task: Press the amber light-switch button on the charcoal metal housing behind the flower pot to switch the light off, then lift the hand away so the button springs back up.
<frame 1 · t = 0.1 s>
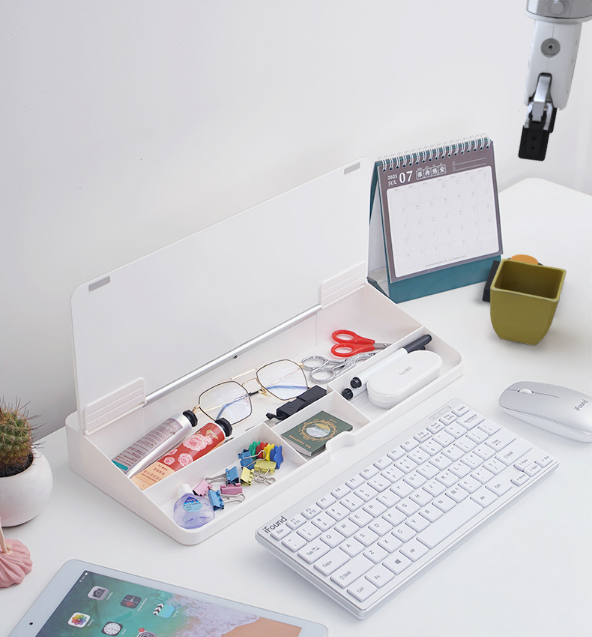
hand: (535, 144, 101), 26 cm above the table, tool pointing down, fingers open, 9 cm apart
flower pot: (518, 334, 111), on the table
switch: (518, 291, 120), on the table
switch button: (523, 266, 118), point 4 cm above the table, slide at 0.1 cm
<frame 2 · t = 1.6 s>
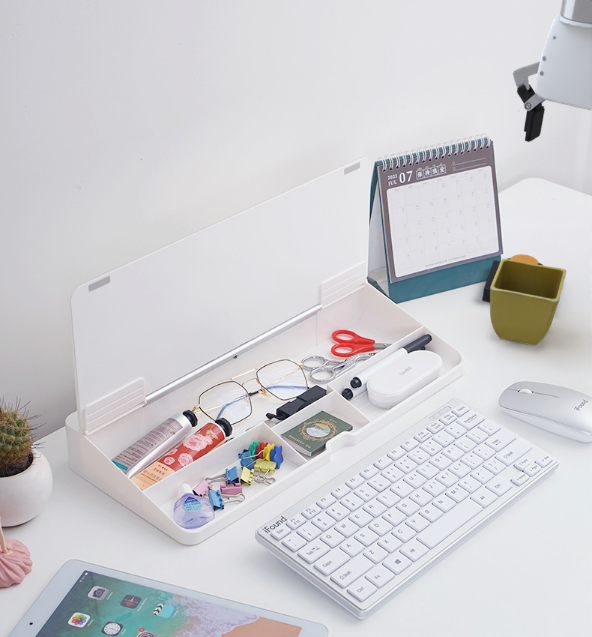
hand: (567, 147, 102), 25 cm above the table, tool pointing down, fingers open, 9 cm apart
nothing on the table moved.
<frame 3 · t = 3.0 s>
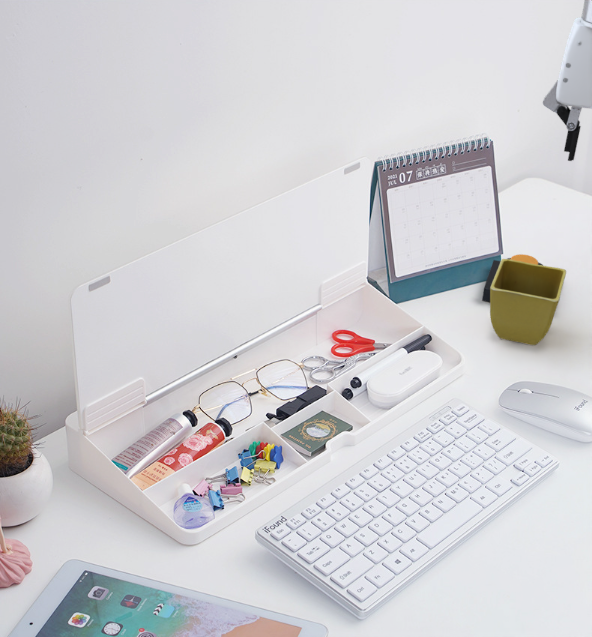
hand: (584, 157, 104), 23 cm above the table, tool pointing down, fingers closed
nothing on the table moved.
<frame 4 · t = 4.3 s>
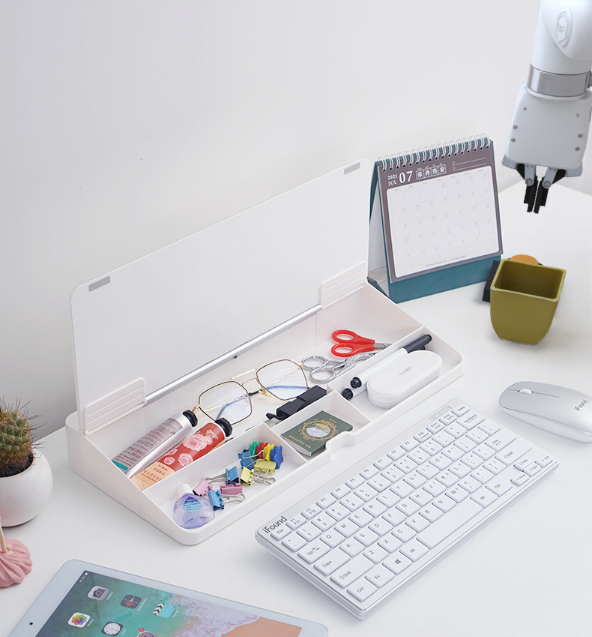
hand: (533, 208, 113), 14 cm above the table, tool pointing down, fingers closed
nothing on the table moved.
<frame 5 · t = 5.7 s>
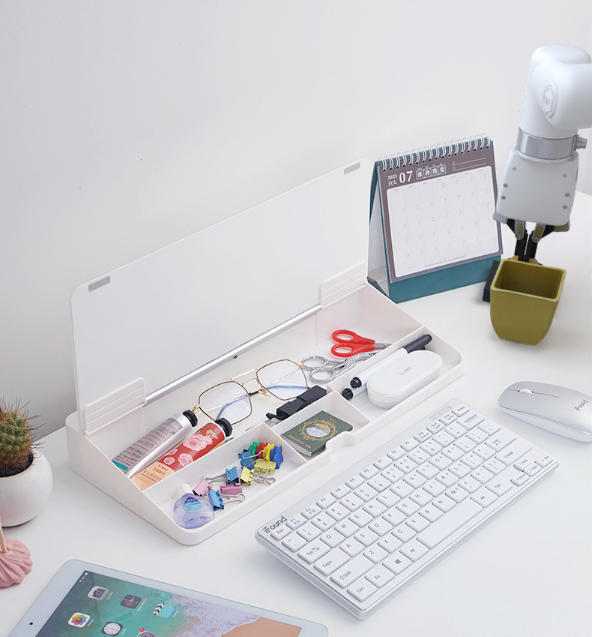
hand: (523, 260, 117), 5 cm above the table, tool pointing down, fingers closed
switch button: (523, 266, 118), point 4 cm above the table, slide at 0.1 cm, touching gripper
everything else where it was.
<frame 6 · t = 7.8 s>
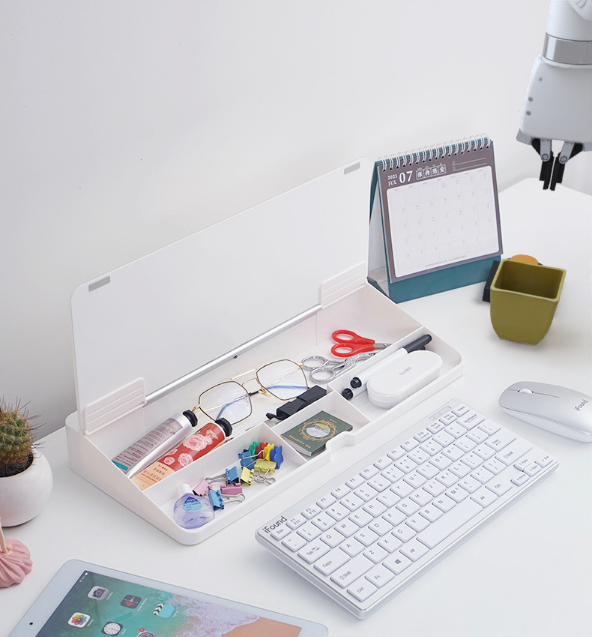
hand: (549, 186, 109), 18 cm above the table, tool pointing down, fingers closed
switch button: (523, 266, 118), point 4 cm above the table, slide at 0.1 cm
everything else where it was.
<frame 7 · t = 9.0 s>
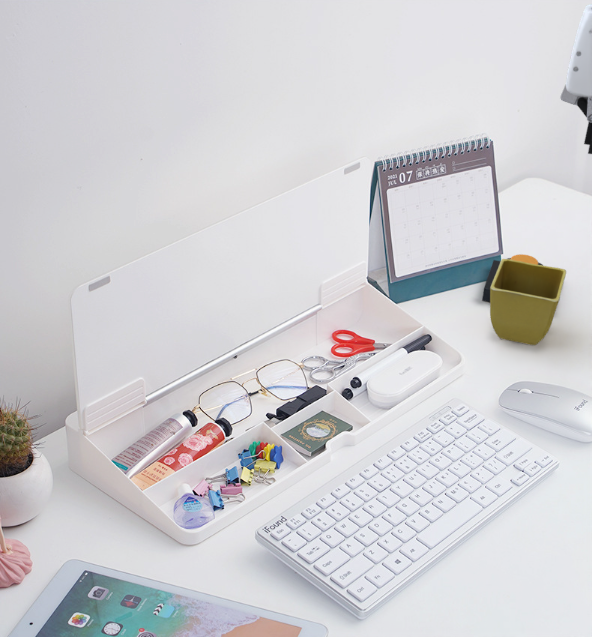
nothing on the table moved.
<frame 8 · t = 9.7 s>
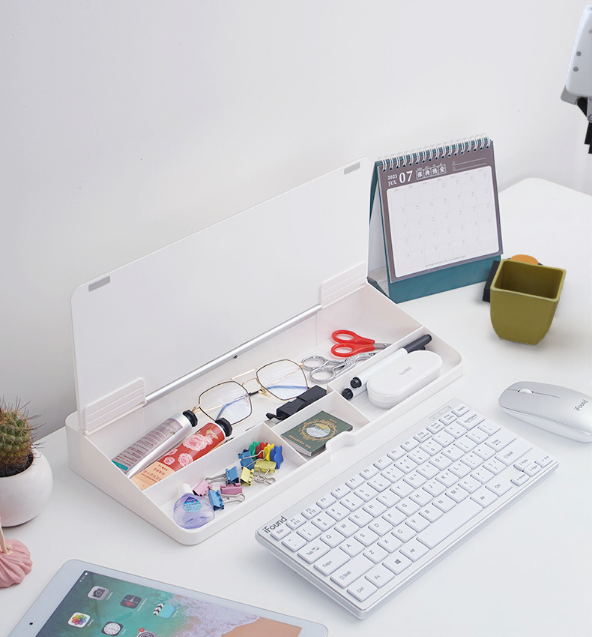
nothing on the table moved.
at the end: switch button pushed in 1.1 cm at the most during the clip, back to where it started at the end; switch button slide at 0.1 cm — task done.
